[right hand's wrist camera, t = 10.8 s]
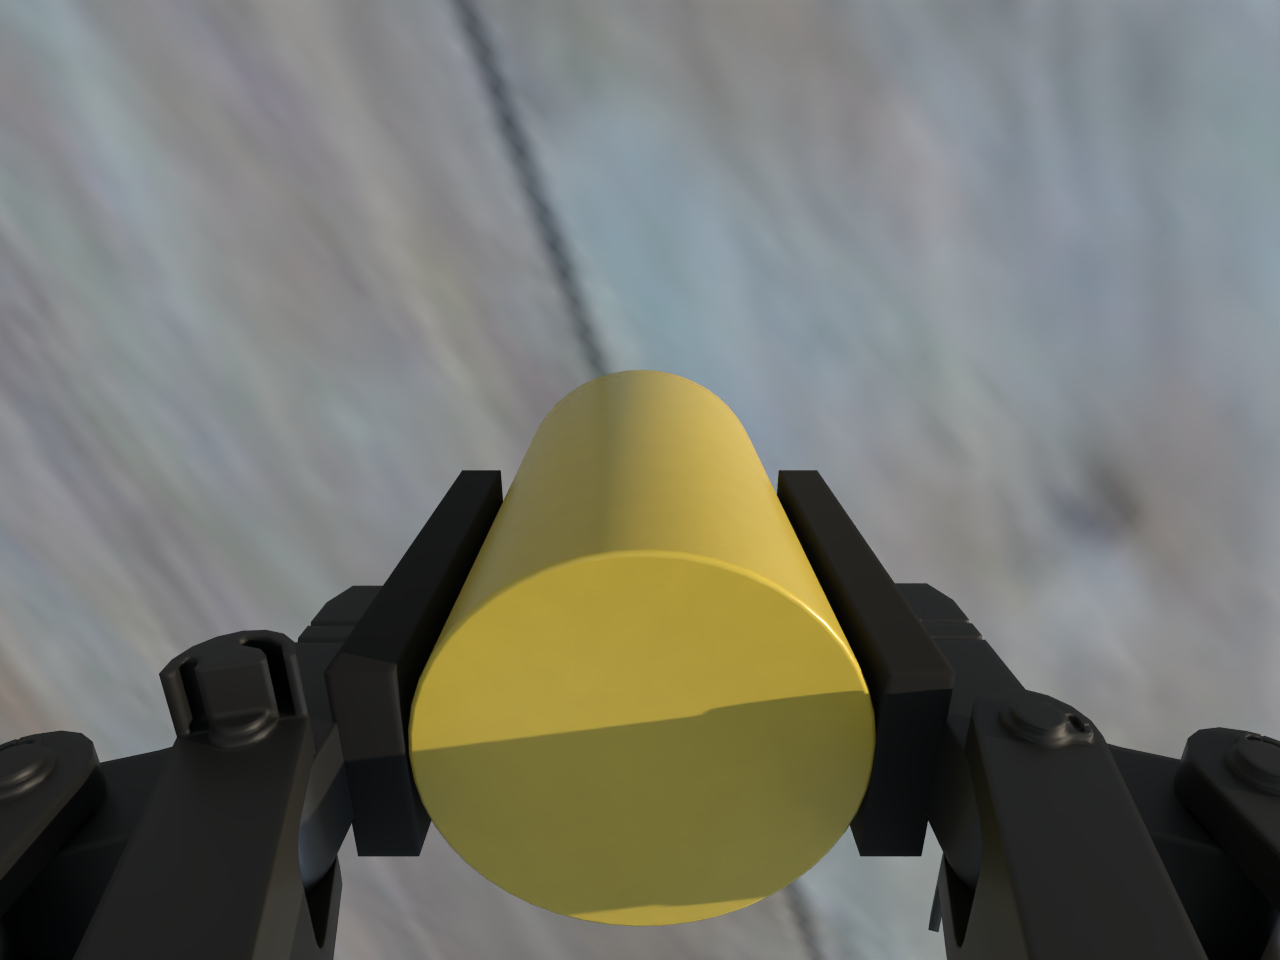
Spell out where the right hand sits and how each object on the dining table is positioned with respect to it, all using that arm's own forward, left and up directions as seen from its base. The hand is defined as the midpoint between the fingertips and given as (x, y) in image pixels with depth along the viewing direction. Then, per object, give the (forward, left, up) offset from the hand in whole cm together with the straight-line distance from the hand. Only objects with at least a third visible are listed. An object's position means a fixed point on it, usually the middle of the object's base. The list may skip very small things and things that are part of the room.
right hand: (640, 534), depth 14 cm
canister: (0, 0, -3) cm, 3 cm away
